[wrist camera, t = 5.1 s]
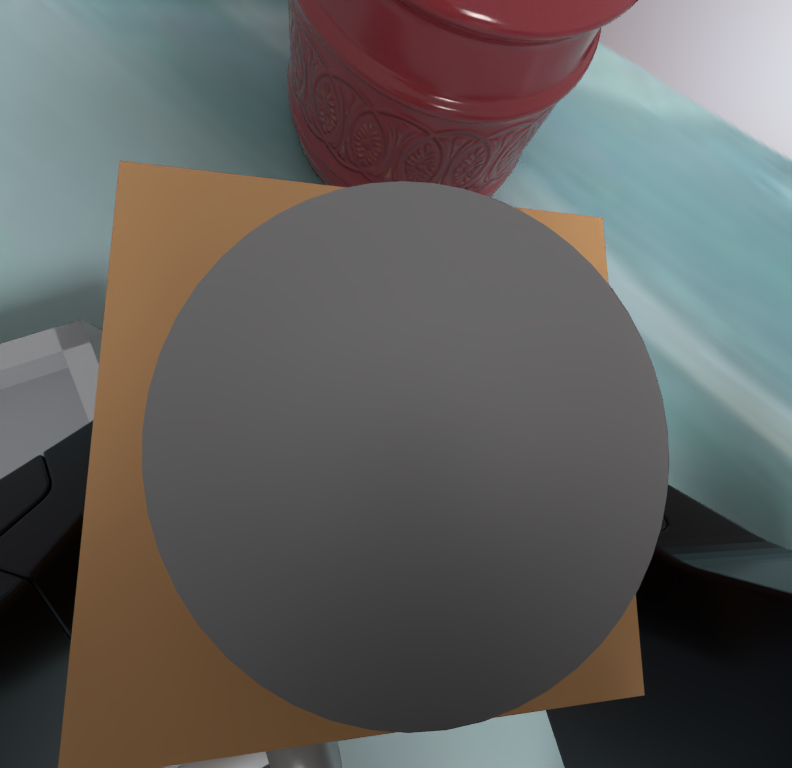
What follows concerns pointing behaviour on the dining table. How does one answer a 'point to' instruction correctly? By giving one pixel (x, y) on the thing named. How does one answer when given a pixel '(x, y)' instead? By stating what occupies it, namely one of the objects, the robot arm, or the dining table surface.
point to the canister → (433, 83)
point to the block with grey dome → (354, 470)
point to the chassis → (63, 415)
